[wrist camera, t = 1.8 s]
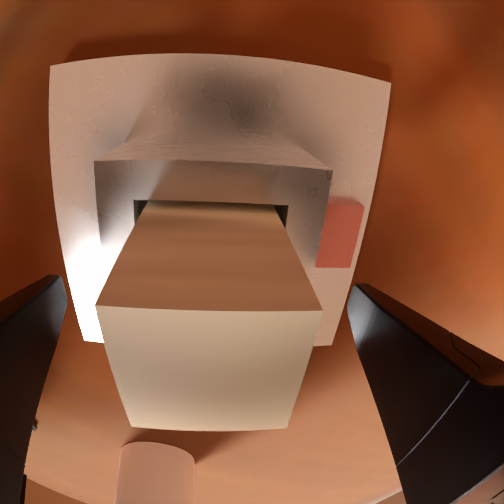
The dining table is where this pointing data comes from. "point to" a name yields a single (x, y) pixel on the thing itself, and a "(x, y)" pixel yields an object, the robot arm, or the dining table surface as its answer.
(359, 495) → the dining table surface
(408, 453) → the robot arm
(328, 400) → the dining table surface
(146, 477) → the cylindrical container
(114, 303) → the post
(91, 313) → the sleeve stand
